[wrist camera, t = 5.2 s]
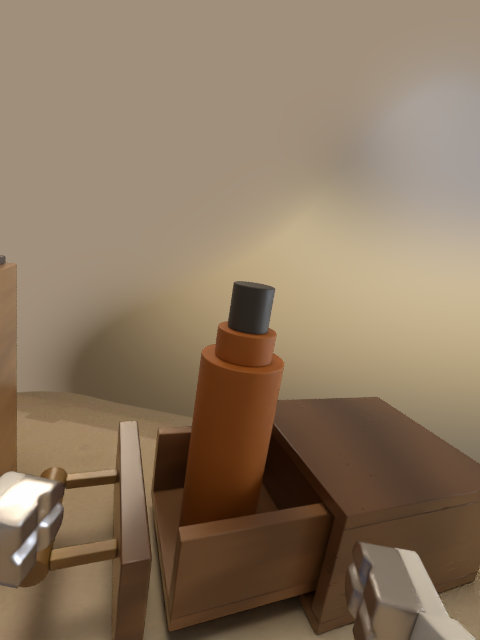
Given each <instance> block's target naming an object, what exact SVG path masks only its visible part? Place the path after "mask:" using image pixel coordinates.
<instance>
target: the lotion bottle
mask: <svg viewBox="0 0 480 640" xmlns="http://www.w3.org/2000/svg"><path fill="white" fill-rule="evenodd" d="M274 293H275V288H273V287H271V286H267V285H264V284H258V283H252V282H242V281H237V282H234V285H233V293H232V299H231V306H230V313H229V319H228V321H227V322H222V323H220V324H219V325H218V331H217V338H216V344H213V345H210V346H207V347H205V348H204V349H203V350H202V353H201V361H200V368H199V376H198V384H197V391H196V400H195V407H194V415H193V422H192V430H191V437H190V445H189V453H188V460H187V468H186V476H185V483H184V491H183V499H182V506H181V514H180V522H179V527H183V526H189V525H195V524H201V523H207V522H212V521H218V520H224V519H230V518H236V517H242V516H248V515H254V514H256V511H257V505H258V500H259V495H260V490H261V484H262V479H263V474H264V469H265V463H266V458H267V453H268V448H269V442H270V437H271V432H272V427H273V421H274V416H275V411H276V406H277V401H278V395H279V390H280V384H281V379H282V374H283V369H284V362H283V360H282V359H281V358H279V357H278V356H277V355H275V354H274V353H273V352H274V346H275V341H276V332H275V331H274V330H272V329H270V328H268V327H269V321H270V315H271V310H272V304H273V298H274Z"/></svg>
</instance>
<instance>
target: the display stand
mask: <svg viewBox="0 0 480 640" xmlns="http://www.w3.org/2000/svg"><path fill="white" fill-rule="evenodd" d="M16 269H17V265H16V264H14V263H5V256H3V255H0V477H1V476H2V475H3V474H5V473H7V472H10V471H14V472H16V471H17V371H16V370H17V360H16V359H17V343H16V341H17V333H16V332H17V311H16V310H17V309H16V307H17V294H16V293H17V289H16V288H17V283H16V282H17V275H16V274H17V270H16Z"/></svg>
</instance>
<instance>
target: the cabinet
mask: <svg viewBox="0 0 480 640" xmlns="http://www.w3.org/2000/svg"><path fill="white" fill-rule="evenodd" d="M271 433H272V434H273V435H274V437H275V438H276V439H277V441H278V442H279V443H280V445H281V446H282V447H283V449H284V450H285V451H286V453H287V454H288V455H289V457H290V458H291V459H292V461H293V462H294V463H295V465H296V466H297V467H298V469H299V470H300V471H301V473H302V474H303V475H304V477H305V478H306V479H307V481H308V482H309V483H310V485H311V486H312V487H313V489H314V490H315V491H316V493H317V494H318V495H319V497H320V498H321V499H322V501H323V502H324V503H325V505H326V506H327V507H328V509H329V510H330V511H331V513H332V514H333V516H334V517H335V518H334V522H333V526H332V530H331V534H330V538H329V541H328V545H327V549H326V553H325V557H324V561H323V565H322V569H321V573H320V577H319V581H318V585H317V589H316V590H315V591H311V592H308V593H304V594H301V595H297V597H298V599H299V601H300V603H301V605H302V607H303V609H304V611H305V613H306V615H307V617H308V619H309V621H310V623H311V625H312V627H313V629H314V632H315V634H316V635H317V634H320V633H323V632H326V631H329V630H332V629H335V628H338V627H341V626H344V625H347V624H349V623H352V622H355V619H354V617H353V616H352V615H351V613H350V612H349V611H348V607H347V602H346V595H345V576H346V572H347V568H348V565H350V564H351V563H353V562H354V559H353V555H352V550H353V546H354V544H355V543H356V541H361V542H366V543H371V544H377V545H382V546H387V547H392V548H399V549H404V550H410V551H415V552H416V553H417V554H418V555H419V557H420V559H421V561H422V563H423V565H424V567H425V569H426V571H427V573H428V575H429V577H430V579H431V581H432V583H433V585H434V588H435V590H436V592H437V593H440V592H443V591H446V590H449V589H452V588H454V587H457V586H460V585H463V584H466V583H469V582H472V581H474V580H475V577H476V575H477V571H478V569H479V567H480V464H479V463H477V462H476V461H474V460H473V459H471V458H470V457H468V456H467V455H465V454H464V453H462V452H460V451H459V450H458V449H456V448H455V447H453V446H452V445H450V444H448V443H447V442H446V441H444V440H442V439H441V438H439V437H438V436H436V435H435V434H433V433H432V432H430V431H429V430H427V429H426V428H424V427H423V426H421V425H420V424H418V423H417V422H415V421H413V420H412V419H410V418H409V417H407V416H406V415H404V414H403V413H401V412H400V411H398V410H397V409H395V408H393V407H392V406H391V405H389V404H388V403H386V402H385V401H383V400H381V399H380V398H378V397H363V398H335V399H334V398H333V399H305V400H304V399H303V400H278V401H277V406H276V411H275V416H274V421H273V427H272V432H271Z"/></svg>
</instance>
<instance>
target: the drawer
mask: <svg viewBox="0 0 480 640" xmlns="http://www.w3.org/2000/svg"><path fill="white" fill-rule="evenodd" d="M191 430H192V426H186V427H169V428H158V433H157V442H156V452H155V461H154V471H153V480H152V489H151V496H152V504H153V512H154V520H155V527H156V535H157V543H158V551H159V559H160V567H161V575H162V583H163V591H164V598H165V606H166V614H167V622H168V630H169V631H174V630H178V629H181V628H185V627H188V626H192V625H195V624H199V623H202V622H206V621H209V620H213V619H216V618H220V617H223V616H227V615H230V614H234V613H237V612H241V611H244V610H248V609H251V608H255V607H259V606H262V605H266V604H269V603H273V602H276V601H280V600H283V599H287V598H290V597H294V596H297V595H301V594H304V593H308V592H311V591H315V590H316V589H317V585H318V581H319V577H320V573H321V569H322V565H323V561H324V557H325V553H326V549H327V545H328V541H329V538H330V534H331V530H332V526H333V522H334V518H335V517H334V516H333V514H332V513H331V511H330V510H329V509H328V507H327V506H326V505H325V503H324V502H323V501H322V499H321V498H320V497H319V495H318V494H317V493H316V491H315V490H314V489H313V487H312V486H311V485H310V483H309V482H308V481H307V479H306V478H305V477H304V475H303V474H302V473H301V471H300V470H299V469H298V467H297V466H296V465H295V463H294V462H293V461H292V459H291V458H290V457H289V455H288V454H287V453H286V451H285V450H284V449H283V447H282V446H281V445H280V443H279V442H278V441H277V439H276V438H275V437H274V435H273V434H272V433H271V437H270V442H269V448H268V453H267V458H266V463H265V469H264V474H263V479H262V484H261V490H260V495H259V500H258V505H257V511H256V514H254V515H248V516H242V517H236V518H230V519H224V520H218V521H212V522H207V523H201V524H195V525H189V526H183V527H179V522H180V514H181V506H182V499H183V491H184V483H185V476H186V468H187V460H188V453H189V445H190V437H191ZM41 477H42V478H47V479H51V480H55V481H60V482H62V483H63V484H64V490H65V488H66V489H70V488H79V487H88V486H97V485H105V484H114V483H115V484H114V514H113V539H111V540H105V541H99V542H93V543H87V544H81V545H76V546H70V547H64V548H58V549H53V545H54V540H55V538H54V539H53V541H52V542H51V544H50V545H49V546H48V547H47V548H45V549H44V550H42V551H40V552H38V553H37V559H36V564H35V565H34V567H33V568H32V569H31V571H30V572H29V573H28V575H27V576H26V577H25V579H24V580H23V581H22V583H21V584H20V585H19V587H30V586H34V585H36V584H38V583H40V582H41V581H42V580H43V579H44V578H45V577H46V575H47V574H48V570H50V571H52V570H57V569H62V568H68V567H73V566H78V565H83V564H88V563H94V562H99V561H104V560H109V559H113V590H112V640H143V633H144V624H145V615H146V606H147V597H148V588H149V579H150V570H151V561H152V555H151V546H150V536H149V526H148V517H147V507H146V498H145V488H144V478H143V469H142V459H141V449H140V440H139V430H138V422H137V421H129V422H120V423H119V432H118V445H117V458H116V469H114V470H104V471H94V472H84V473H74V474H67V473H66V471H65V470H64V469H62V468H59V467H52V468H49V469H47V470H45V471H44V472H43V473H42V475H41ZM62 500H63V496H62V498H61V499H60V500H59V501H60V503H61V504H62Z"/></svg>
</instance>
